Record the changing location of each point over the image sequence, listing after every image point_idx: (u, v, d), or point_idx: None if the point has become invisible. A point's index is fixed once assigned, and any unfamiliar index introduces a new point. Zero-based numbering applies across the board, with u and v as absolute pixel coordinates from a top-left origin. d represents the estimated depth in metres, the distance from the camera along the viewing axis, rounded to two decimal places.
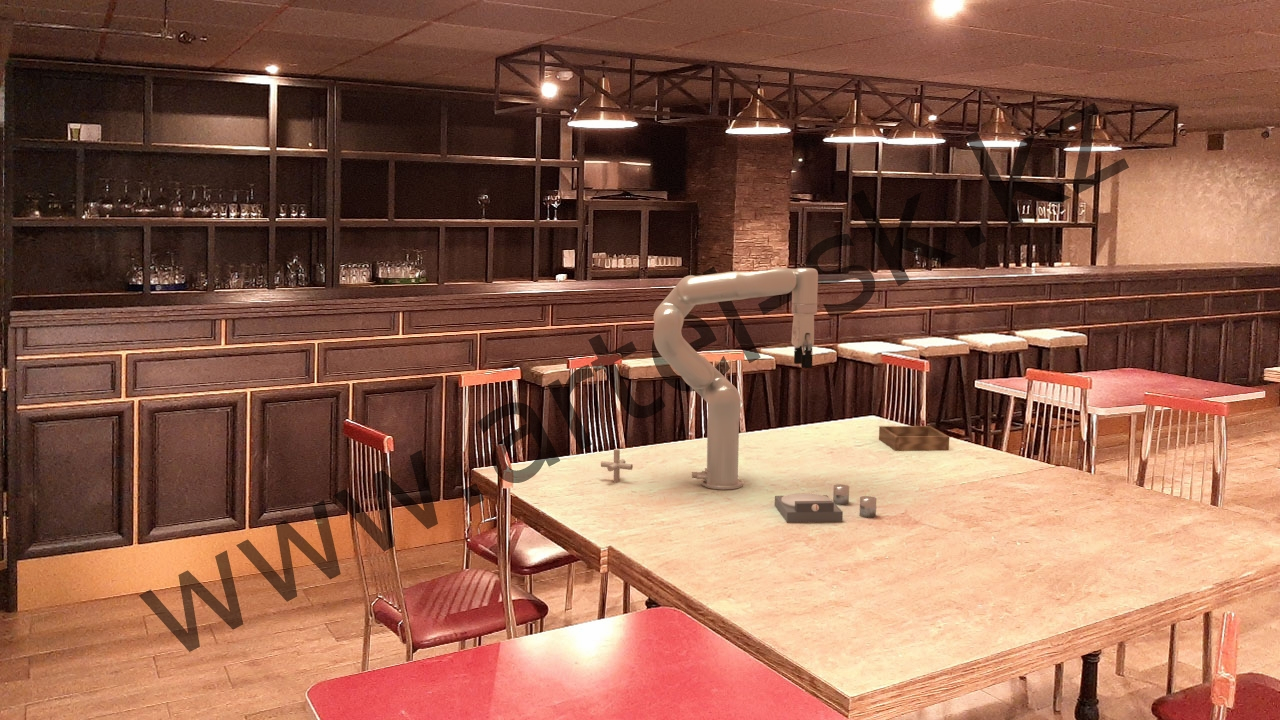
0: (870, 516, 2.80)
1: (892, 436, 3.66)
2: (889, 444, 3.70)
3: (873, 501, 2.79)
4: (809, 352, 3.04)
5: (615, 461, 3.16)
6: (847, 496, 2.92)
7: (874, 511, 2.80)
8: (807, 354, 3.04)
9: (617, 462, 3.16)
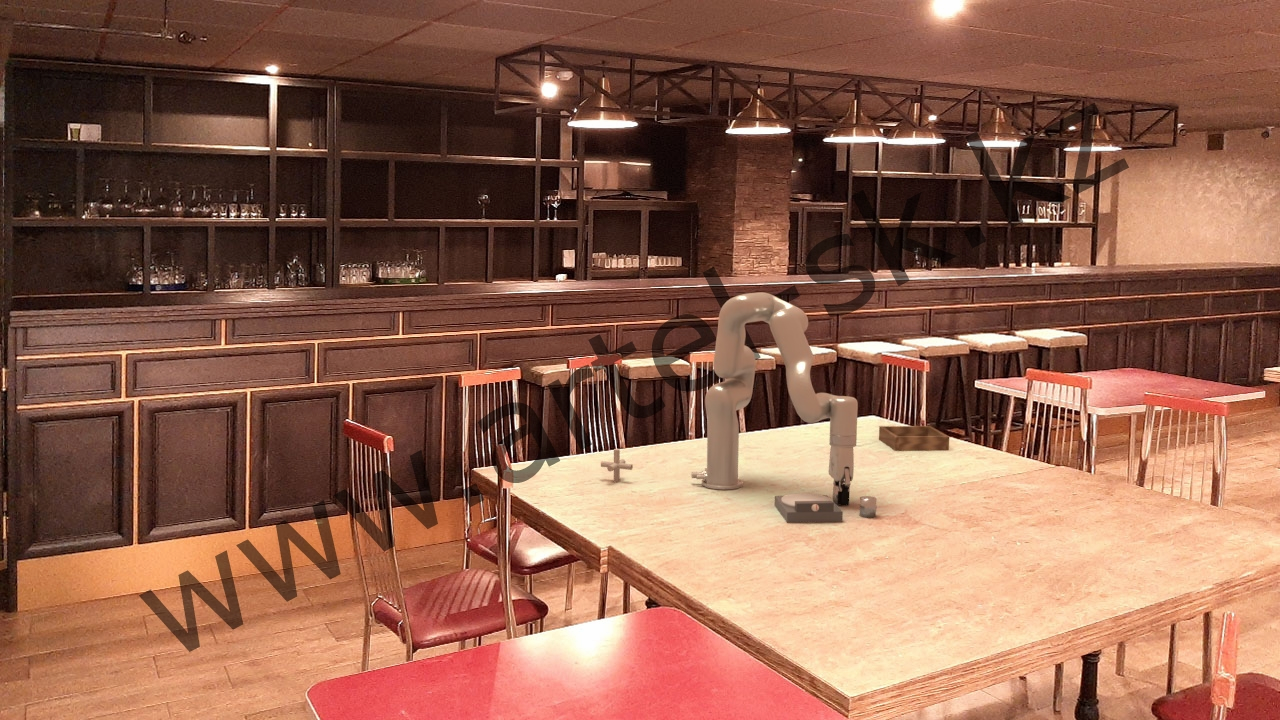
0: (870, 516, 2.80)
1: (892, 436, 3.66)
2: (889, 444, 3.70)
3: (873, 501, 2.79)
4: (846, 489, 2.89)
5: (615, 461, 3.16)
6: None
7: (874, 511, 2.80)
8: (844, 491, 2.90)
9: (617, 462, 3.16)
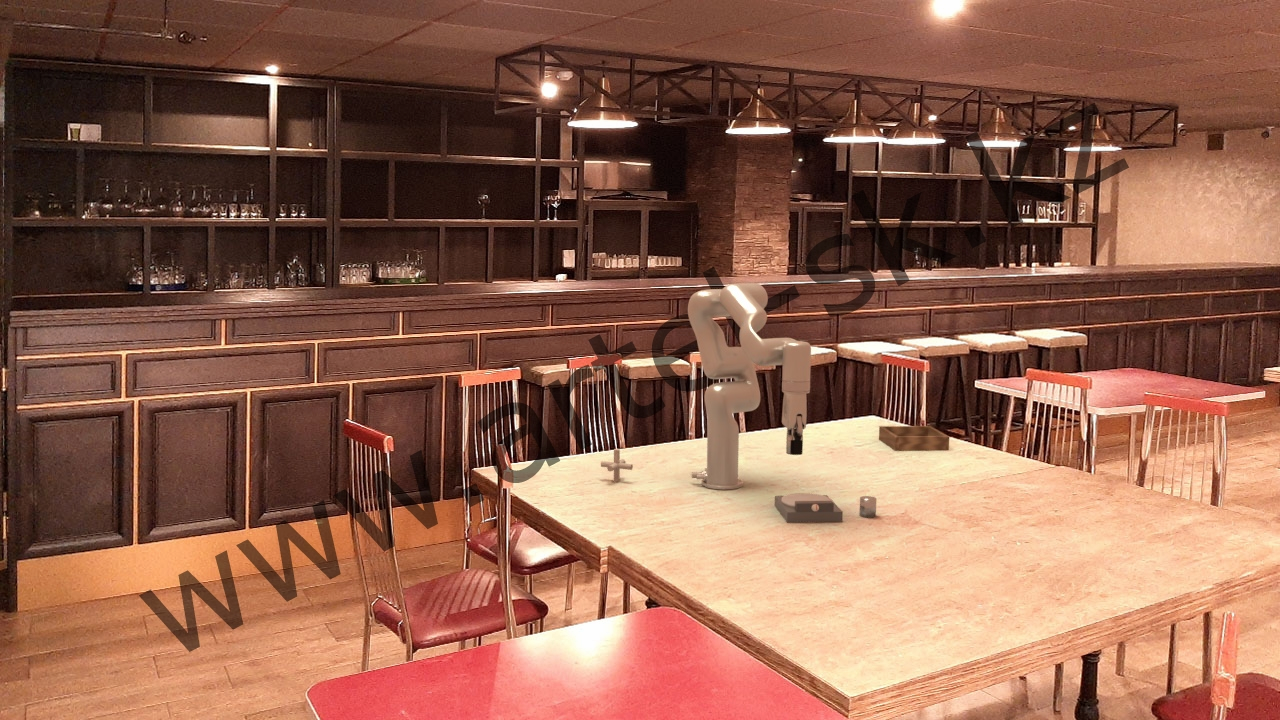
0: (870, 516, 2.80)
1: (892, 436, 3.66)
2: (889, 444, 3.70)
3: (873, 501, 2.79)
4: (799, 438, 2.77)
5: (615, 461, 3.16)
6: None
7: (874, 511, 2.80)
8: (797, 440, 2.78)
9: (617, 462, 3.16)
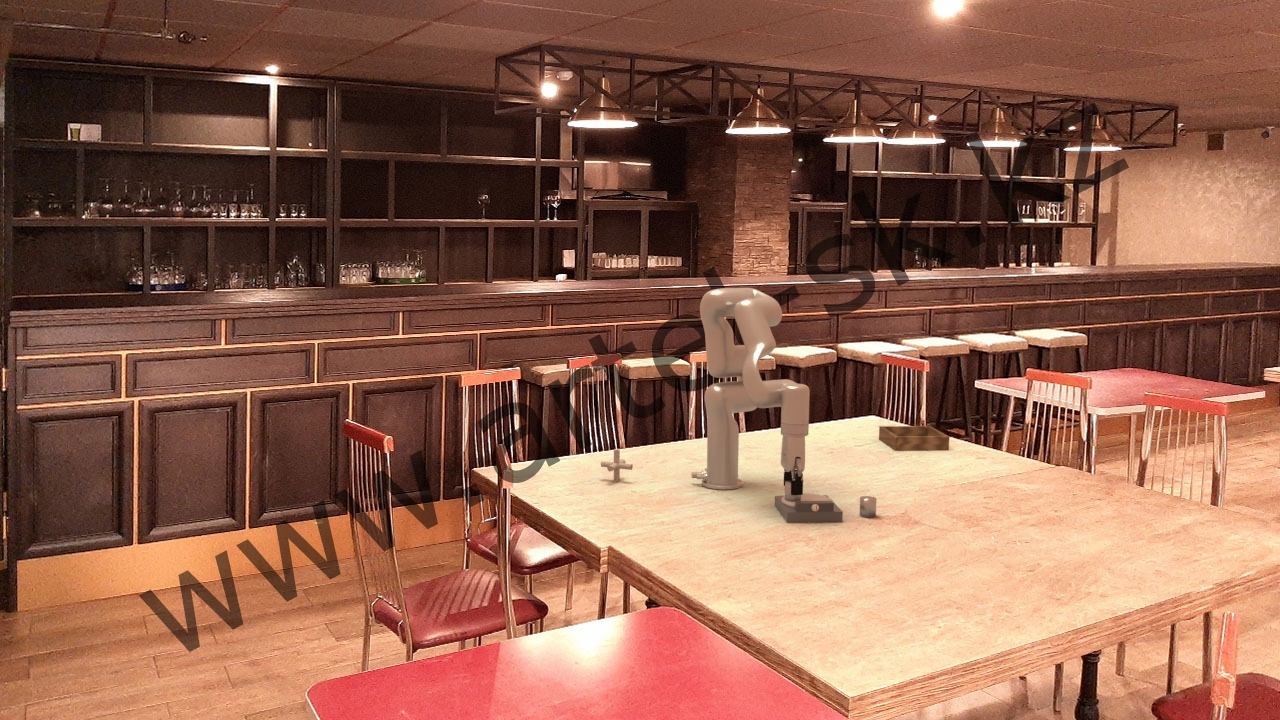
0: (870, 516, 2.80)
1: (892, 436, 3.66)
2: (889, 444, 3.70)
3: (873, 501, 2.79)
4: (799, 478, 2.76)
5: (615, 461, 3.16)
6: None
7: (874, 511, 2.80)
8: (797, 480, 2.77)
9: (617, 462, 3.16)
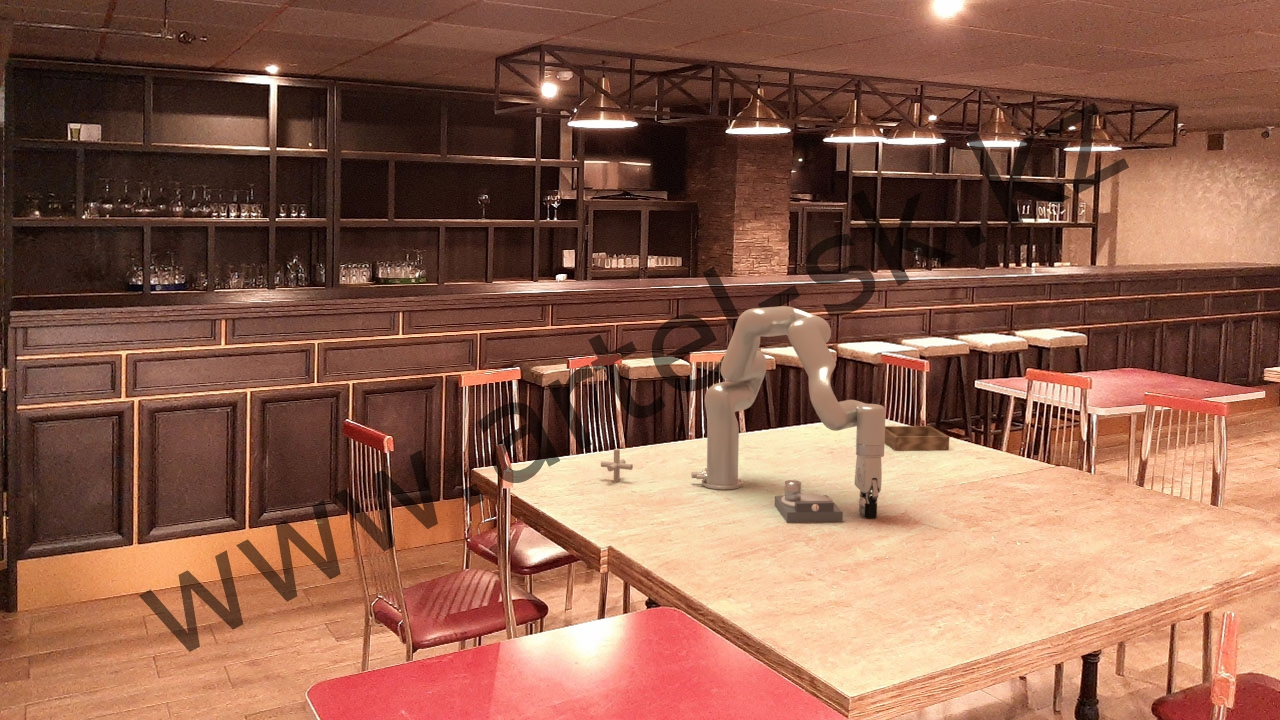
0: None
1: (892, 436, 3.66)
2: (889, 444, 3.70)
3: None
4: (874, 501, 2.77)
5: (615, 461, 3.16)
6: (799, 492, 2.82)
7: None
8: (871, 503, 2.77)
9: (617, 462, 3.16)
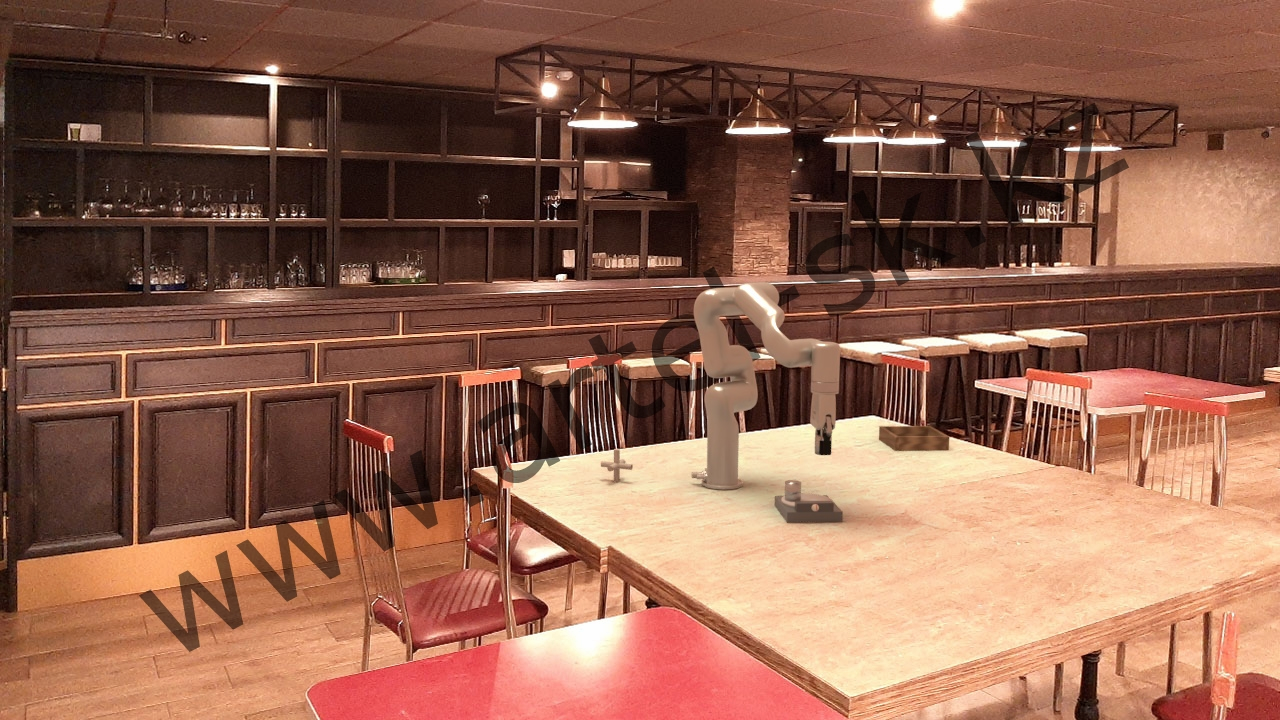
0: None
1: (892, 436, 3.66)
2: (889, 444, 3.70)
3: None
4: (828, 438, 2.78)
5: (615, 461, 3.16)
6: (799, 492, 2.82)
7: None
8: (826, 440, 2.78)
9: (617, 462, 3.16)
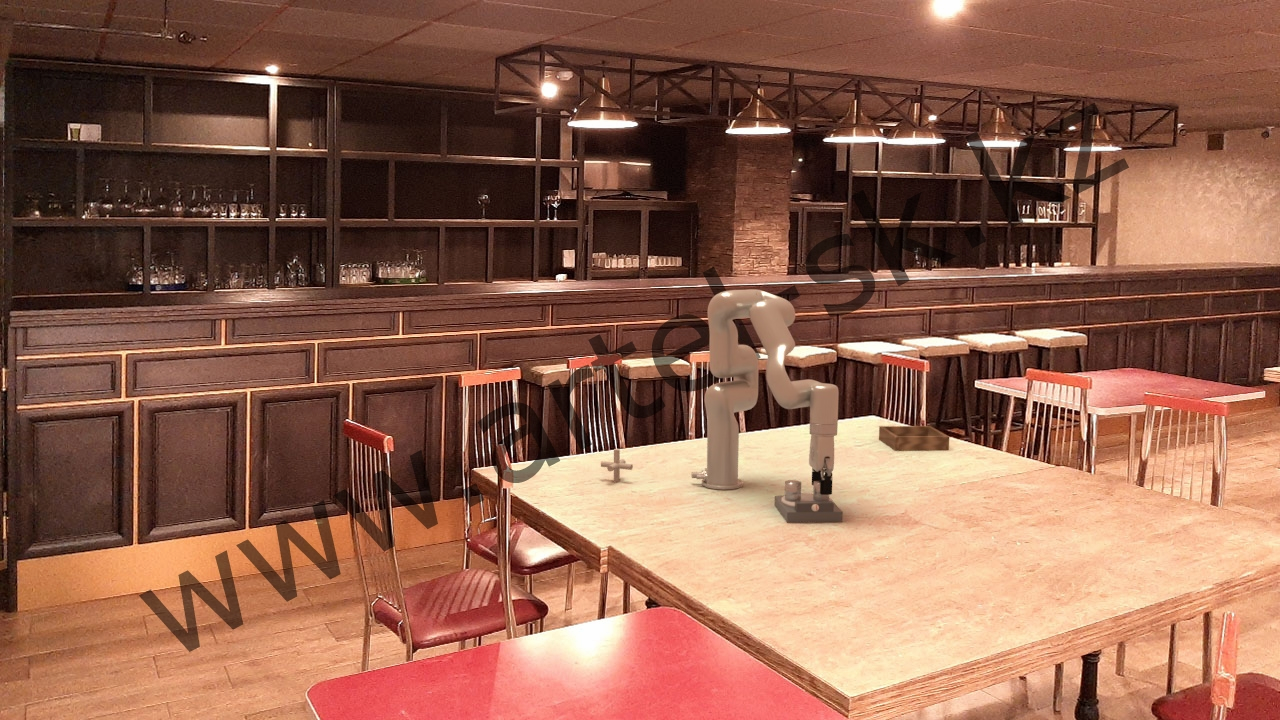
0: (823, 499, 2.82)
1: (892, 436, 3.66)
2: (889, 444, 3.70)
3: None
4: (829, 478, 2.77)
5: (615, 461, 3.16)
6: (799, 492, 2.82)
7: (827, 495, 2.83)
8: (826, 480, 2.77)
9: (617, 462, 3.16)
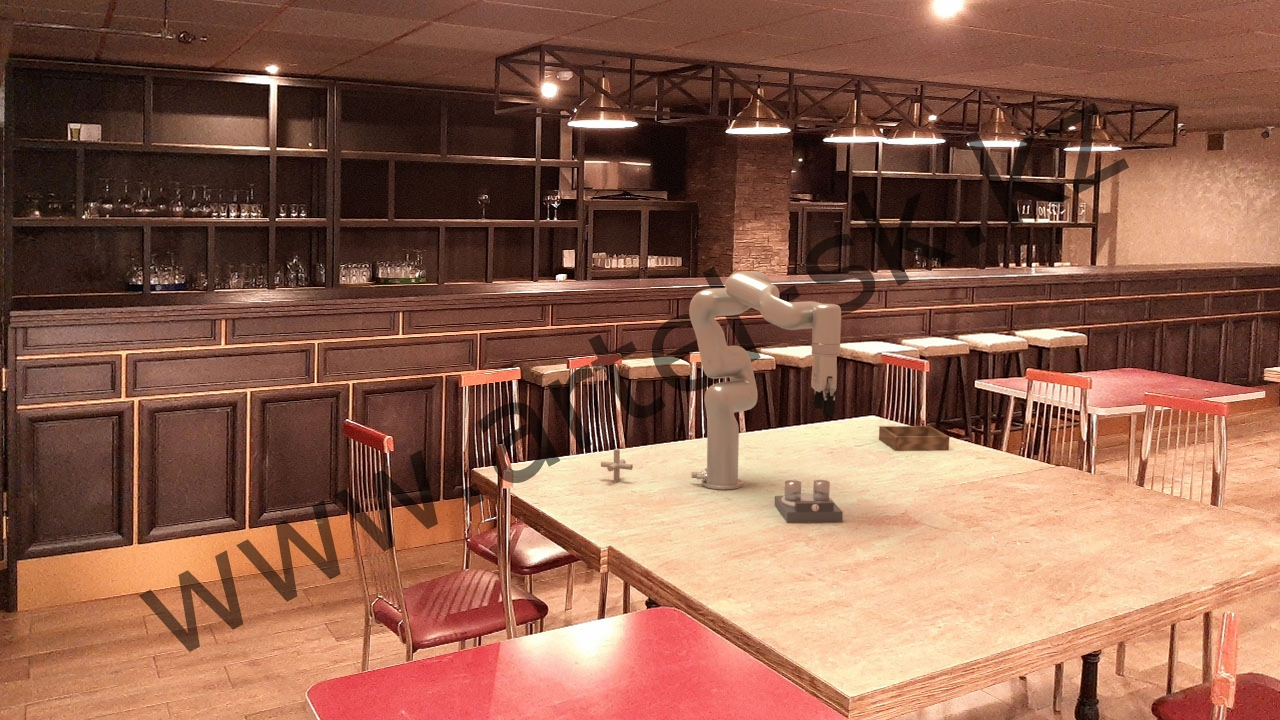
0: (823, 499, 2.82)
1: (892, 436, 3.66)
2: (889, 444, 3.70)
3: (826, 485, 2.82)
4: (831, 398, 2.74)
5: (615, 461, 3.16)
6: (799, 492, 2.82)
7: (827, 495, 2.83)
8: (829, 400, 2.75)
9: (617, 462, 3.16)
